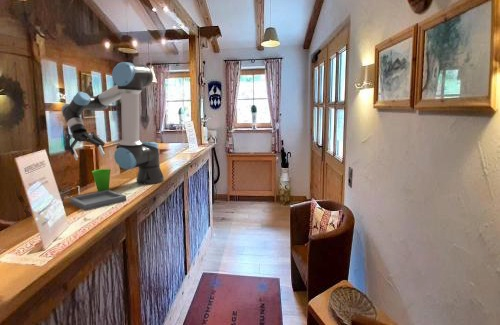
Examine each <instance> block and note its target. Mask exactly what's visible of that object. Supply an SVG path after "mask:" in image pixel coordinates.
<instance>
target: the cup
mask: <svg viewBox="0 0 500 325" xmlns="http://www.w3.org/2000/svg"><path fill="white" fill-rule="evenodd" d="M91 173H92V176H93V179H94V183H95V186H96V189H97V192H100V191H105V190H110V180H111V168H110V169H109V168H104V169H103V168H100V169H99V168H98V169H95V170H91Z"/></svg>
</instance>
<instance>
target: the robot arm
mask: <svg viewBox="0 0 500 325" xmlns="http://www.w3.org/2000/svg"><path fill="white" fill-rule="evenodd" d="M111 77H112V81H113V82H114V84H115V85H113V86H112V87H109V88H108V89H106V90H104V91H103V92H100V93H99V94H97V95H91V96H90V95H89V94H88V93H87V92H83V91H77V92H76V93H75V95H74V96H73V98H72V99H71V100H70V103H67V104H65V105H63V106H62V107H61V113H62V116H63V118H64V120H65V122H66V124H67V127H68V129H69V130H70V133H71V134H70V133H67V134H66V143H65V148H64V150H65V151H68V152H69V153H70V154H71V156H73V157H74V159H75V161H79V160H78V159H79V155H78V153H77V151H76V149H75V148H76V147H75V146H76V144H77V143H78V142H81V143H82V142H88V143H90V144H92V145H93V146H96V147H97V149H98V151H99V153H100V155H101V157H102V158H104V157H105V155H106V153H105V148H104V147H105V144H106V142H105V141H103V140H102V139H101V138H100V137H99V136H97V135H96V134H95V132H94V131H92V132H91V133H89V132H87V129H86V127H85V124H84V122H83V120H82V118H81V115H82V114H83V112H84V111H85V110H87V111H88V110H105V109H108V108H109V106H110V105H111V104H113V103H114V102H117V101H119V100H120V106H121V108H120V109H121V112H120V113H121V140H120V141H119V142H118V148H117V149H116V150H115V152H114V156H113V157H114V160H115V161H114V162H115V163H116V164H117V166H119V168H121V169H123V170H133V169H135V168H138V172H137V176H136V184H138V185H153V184H159V183H162V182H164V181H165V176H164V174H163V172H162V169H161V165H160V152H159V150H160V149H159V145H158V143H157V142H153V141H152V142H151V141H150V142H149V141H141V140H140V93H141V92H143V90H144V89H146V88H148V87H149V86H150V85H151V84H152V83H153V80H154V75H153V72H152V70H151V68H150V67H148V66H146V65H145V64H139V63H134V62H128V61H127V62H125V61H122V62H119V63H117V64H116V66H114V67H113V69H112V73H111ZM71 139H73V141H72V142H71ZM70 142H71V144H70ZM69 145H70V146H69Z"/></svg>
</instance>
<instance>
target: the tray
mask: <svg viewBox="0 0 500 325" xmlns="http://www.w3.org/2000/svg"><path fill="white" fill-rule="evenodd" d="M123 202H127V196H126V195H125V194H122V193H119V192H116V191H114V190H111V189H109V190H105V191H100V192H98V191H96V192H92V193H87V194H82V195H77V196H73V197H69V203H70V204H71V205H73V206H75V207H77V208H78V209H79V208H80V209H81V210H83V211H85V212H86V211H87V212H88V211H89V210H93V209H98V208H103V207H106V206H110V205H115V203H116V204H119V203H123Z"/></svg>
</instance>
